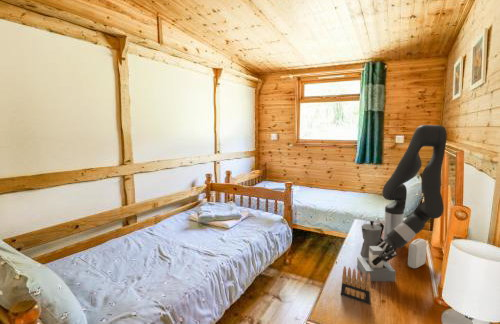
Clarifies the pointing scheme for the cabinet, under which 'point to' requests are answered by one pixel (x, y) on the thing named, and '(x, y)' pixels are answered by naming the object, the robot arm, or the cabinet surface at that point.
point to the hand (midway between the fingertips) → (371, 260)
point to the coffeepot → (370, 236)
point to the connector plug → (373, 253)
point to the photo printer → (417, 253)
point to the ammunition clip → (356, 286)
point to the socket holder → (376, 270)
